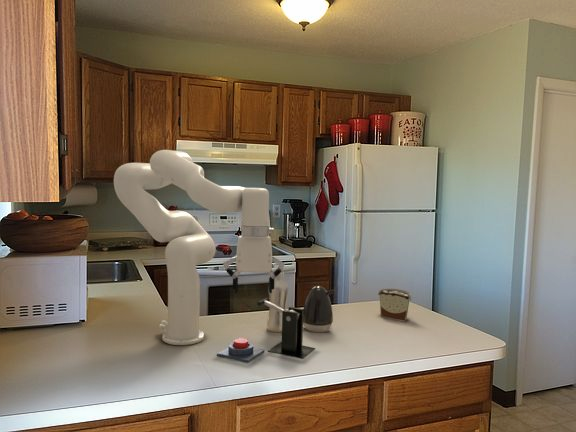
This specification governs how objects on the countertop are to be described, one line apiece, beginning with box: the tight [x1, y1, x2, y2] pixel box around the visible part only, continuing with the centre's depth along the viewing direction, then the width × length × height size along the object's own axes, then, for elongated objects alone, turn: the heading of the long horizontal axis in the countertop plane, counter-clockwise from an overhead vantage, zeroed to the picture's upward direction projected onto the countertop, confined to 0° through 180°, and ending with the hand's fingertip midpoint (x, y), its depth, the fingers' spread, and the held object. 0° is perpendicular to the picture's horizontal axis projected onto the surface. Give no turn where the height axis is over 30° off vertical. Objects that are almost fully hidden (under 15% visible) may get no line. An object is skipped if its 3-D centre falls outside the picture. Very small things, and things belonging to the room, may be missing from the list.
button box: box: [216, 341, 265, 364], centre depth 133 cm, size 10×9×4 cm
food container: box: [377, 288, 412, 323], centre depth 176 cm, size 12×6×10 cm, turn 58°
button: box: [233, 337, 249, 348], centre depth 133 cm, size 4×4×2 cm
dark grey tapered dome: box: [303, 285, 336, 333], centre depth 157 cm, size 10×10×15 cm
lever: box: [257, 297, 300, 318], centre depth 139 cm, size 12×6×2 cm, turn 64°
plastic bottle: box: [266, 270, 289, 333], centre depth 155 cm, size 6×7×20 cm
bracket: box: [267, 306, 316, 360], centre depth 137 cm, size 11×9×13 cm
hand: (253, 291), depth 136 cm, fingers open, 9 cm apart
